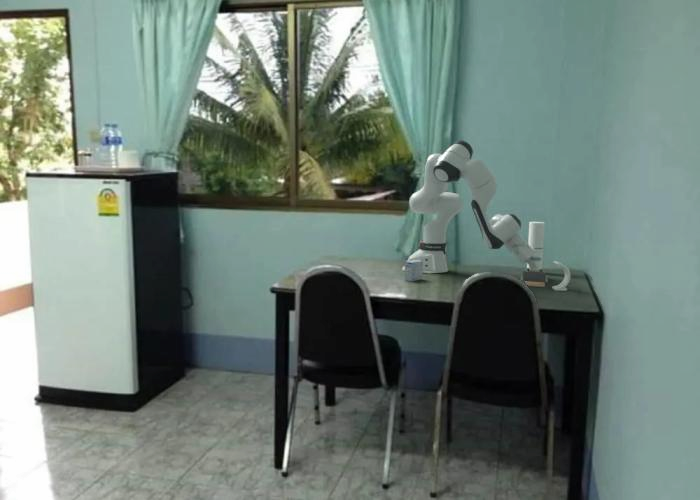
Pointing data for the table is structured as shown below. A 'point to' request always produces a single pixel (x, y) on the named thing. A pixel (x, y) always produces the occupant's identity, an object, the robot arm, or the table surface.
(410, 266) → the medicine box
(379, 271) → the table surface
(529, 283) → the mat
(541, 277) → the filter housing
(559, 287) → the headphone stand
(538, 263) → the filter cartridge
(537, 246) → the cylindrical container
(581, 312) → the table surface
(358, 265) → the table surface
